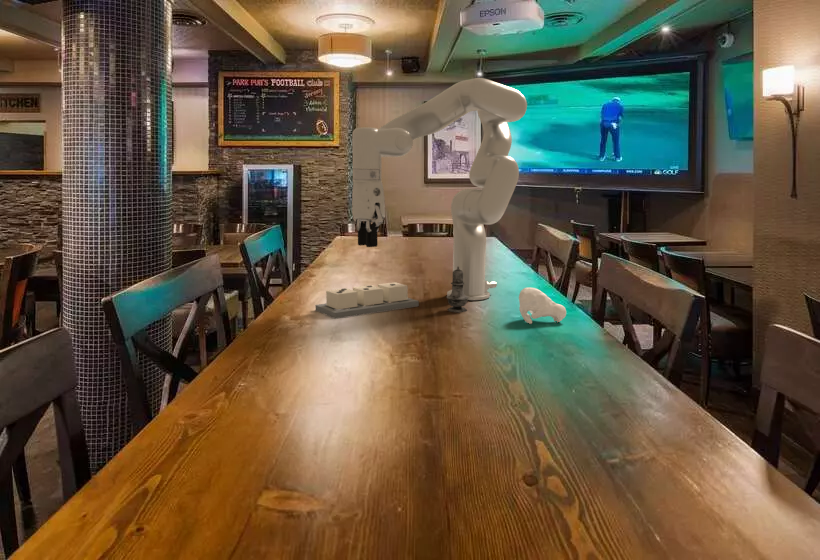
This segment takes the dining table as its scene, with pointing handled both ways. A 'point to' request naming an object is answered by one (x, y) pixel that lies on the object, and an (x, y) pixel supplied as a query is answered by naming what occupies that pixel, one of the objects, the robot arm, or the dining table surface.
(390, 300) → the tile one
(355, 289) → the tile two
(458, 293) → the grey turned candlestick
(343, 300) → the tile three
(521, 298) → the cream animal figurine
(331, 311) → the board
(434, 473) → the dining table surface
